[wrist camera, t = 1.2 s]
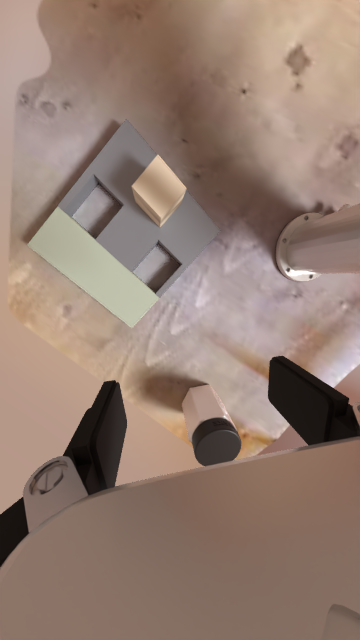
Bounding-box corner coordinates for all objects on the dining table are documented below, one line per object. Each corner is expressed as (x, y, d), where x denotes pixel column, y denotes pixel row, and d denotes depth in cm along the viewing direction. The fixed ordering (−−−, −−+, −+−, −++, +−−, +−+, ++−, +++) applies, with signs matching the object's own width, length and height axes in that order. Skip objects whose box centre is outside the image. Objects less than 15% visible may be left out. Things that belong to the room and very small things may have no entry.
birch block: (157, 176, 26) (157, 154, 21) (181, 203, 28) (186, 188, 23) (135, 202, 27) (131, 186, 22) (160, 227, 28) (161, 217, 23)
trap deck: (129, 132, 27) (126, 118, 24) (215, 234, 32) (220, 230, 29) (37, 247, 28) (26, 245, 26) (133, 324, 34) (131, 328, 31)
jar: (224, 401, 41) (251, 450, 30) (197, 421, 42) (213, 477, 30) (204, 376, 39) (225, 419, 27) (175, 397, 39) (183, 448, 28)
